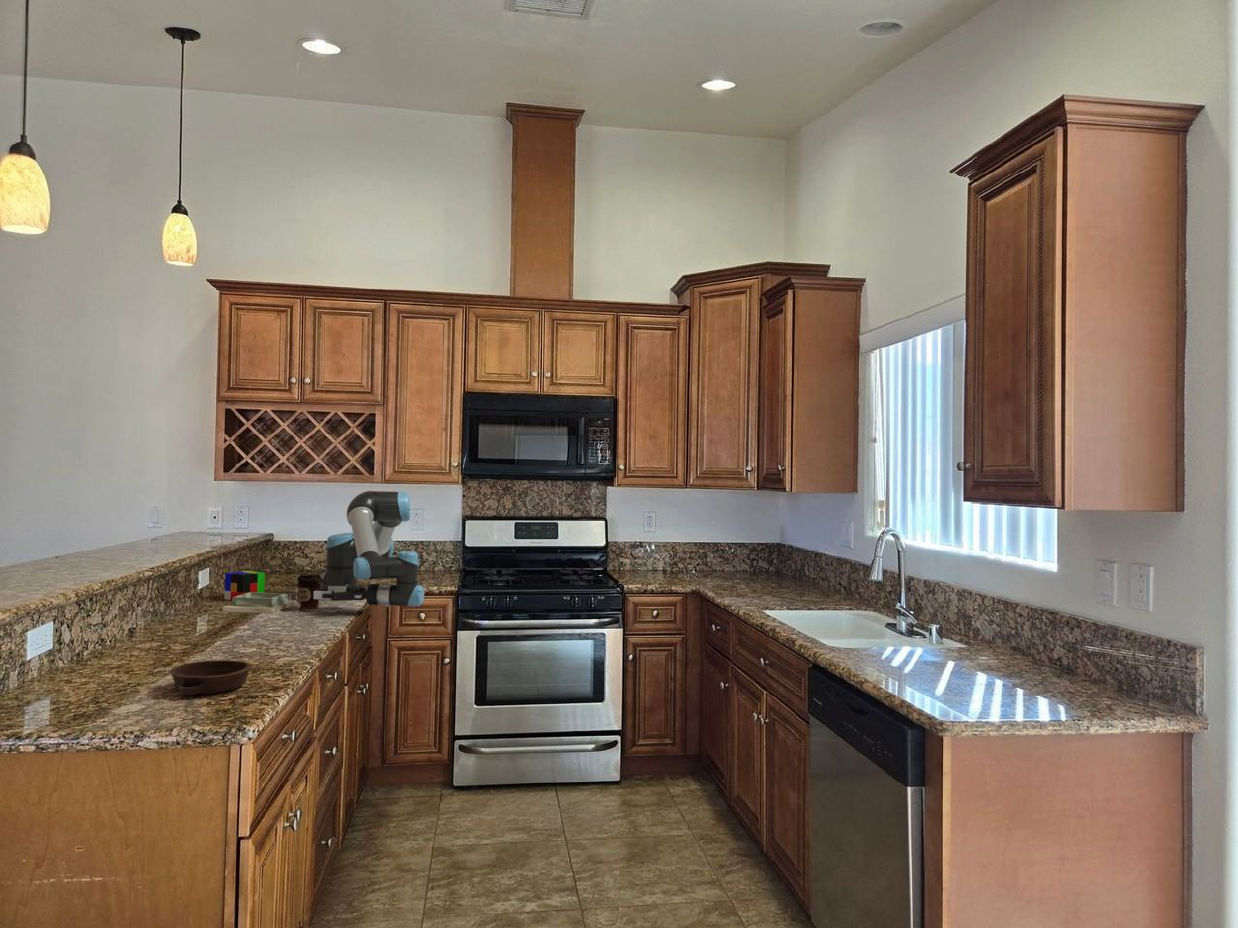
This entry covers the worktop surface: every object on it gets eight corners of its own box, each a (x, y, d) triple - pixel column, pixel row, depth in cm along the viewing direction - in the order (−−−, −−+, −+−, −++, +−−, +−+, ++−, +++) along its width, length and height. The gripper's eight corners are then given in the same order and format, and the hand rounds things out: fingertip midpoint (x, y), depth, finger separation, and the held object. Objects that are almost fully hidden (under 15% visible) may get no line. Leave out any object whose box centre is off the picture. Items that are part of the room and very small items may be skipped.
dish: (267, 678, 217) (268, 658, 217) (227, 702, 195) (227, 679, 195) (196, 676, 217) (197, 655, 217) (148, 699, 195) (149, 676, 195)
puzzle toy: (224, 599, 336) (225, 573, 336) (246, 596, 345) (247, 570, 345) (242, 601, 331) (243, 575, 331) (264, 598, 340) (265, 572, 340)
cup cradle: (248, 602, 329) (249, 590, 329) (296, 604, 328) (296, 592, 328) (222, 611, 309) (223, 598, 309) (272, 613, 308) (273, 600, 308)
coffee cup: (305, 612, 311) (307, 576, 311) (290, 610, 315) (291, 574, 315) (326, 610, 318) (327, 574, 318) (310, 607, 323) (312, 572, 323)
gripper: (368, 610, 303) (307, 608, 303) (389, 599, 327) (333, 597, 328) (369, 588, 303) (308, 586, 303) (390, 579, 328) (334, 577, 328)
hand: (321, 592), depth 316 cm, fingers open, 13 cm apart
